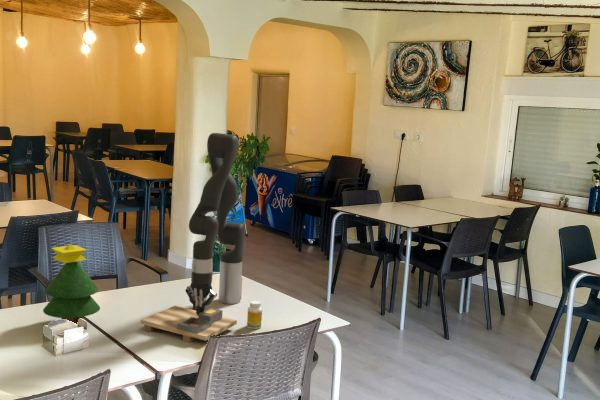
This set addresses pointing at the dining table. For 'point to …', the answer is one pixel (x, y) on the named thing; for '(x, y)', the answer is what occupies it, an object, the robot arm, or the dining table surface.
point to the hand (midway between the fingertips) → (200, 315)
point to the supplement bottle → (254, 315)
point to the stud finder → (211, 315)
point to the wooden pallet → (177, 314)
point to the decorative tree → (71, 287)
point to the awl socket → (187, 327)
